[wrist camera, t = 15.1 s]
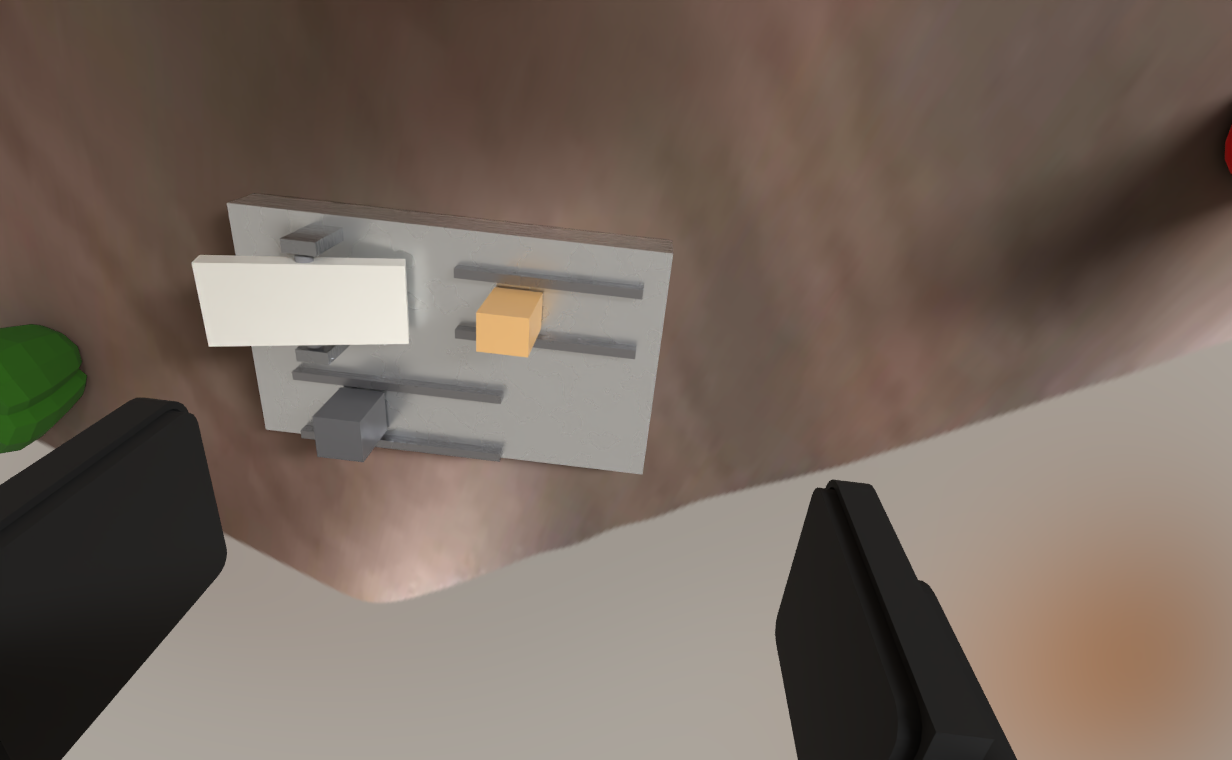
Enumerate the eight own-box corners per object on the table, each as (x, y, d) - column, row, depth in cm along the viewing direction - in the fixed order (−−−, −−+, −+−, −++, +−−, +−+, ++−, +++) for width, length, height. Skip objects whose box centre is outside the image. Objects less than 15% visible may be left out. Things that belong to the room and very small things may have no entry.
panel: (254, 193, 42) (188, 215, 36) (672, 240, 41) (673, 271, 36) (287, 408, 49) (237, 456, 43) (643, 451, 49) (640, 505, 43)
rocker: (198, 249, 36) (190, 257, 35) (405, 254, 39) (404, 261, 38) (216, 341, 39) (209, 351, 38) (409, 339, 42) (409, 348, 41)
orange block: (494, 287, 40) (476, 312, 36) (542, 292, 40) (529, 318, 36) (494, 323, 41) (476, 351, 37) (541, 328, 41) (528, 357, 37)
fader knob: (340, 387, 44) (312, 416, 41) (384, 392, 44) (359, 422, 41) (344, 425, 46) (317, 456, 42) (387, 430, 46) (363, 462, 42)
